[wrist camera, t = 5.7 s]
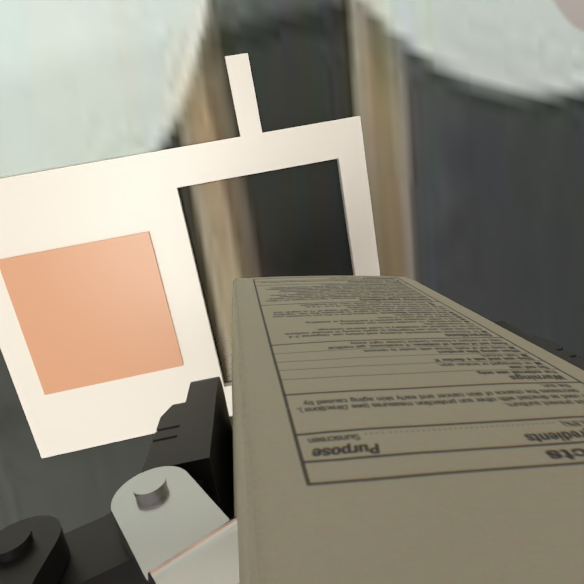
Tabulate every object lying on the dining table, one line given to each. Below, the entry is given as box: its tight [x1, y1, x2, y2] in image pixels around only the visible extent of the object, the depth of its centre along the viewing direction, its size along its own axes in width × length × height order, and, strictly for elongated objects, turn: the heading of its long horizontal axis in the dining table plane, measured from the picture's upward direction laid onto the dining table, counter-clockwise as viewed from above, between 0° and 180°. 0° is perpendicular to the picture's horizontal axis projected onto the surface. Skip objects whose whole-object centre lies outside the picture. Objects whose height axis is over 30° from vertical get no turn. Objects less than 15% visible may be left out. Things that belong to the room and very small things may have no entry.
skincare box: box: [232, 276, 584, 584], centre depth 9 cm, size 6×4×12 cm
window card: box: [0, 53, 380, 458], centre depth 25 cm, size 22×20×1 cm
